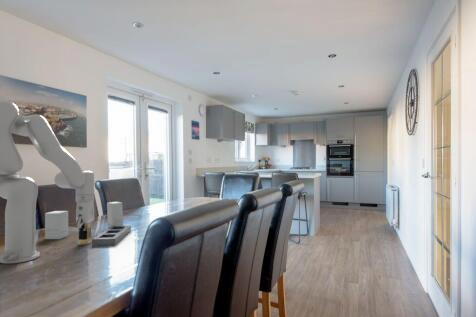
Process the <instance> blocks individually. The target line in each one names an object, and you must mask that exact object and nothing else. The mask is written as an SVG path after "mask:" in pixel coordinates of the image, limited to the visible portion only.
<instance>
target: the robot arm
mask: <svg viewBox="0 0 476 317" xmlns="http://www.w3.org/2000/svg"><path fill="white" fill-rule="evenodd" d="M12 134H15V135H18V136H22V137H28V138H29V140H31V141H30V142H31V143H32V144H33V146H34V148H35V149H36V150H37V153H38V154H39V156H40V157H42V158H43V159H45V160H46V161H48V162H50V163H51V164H54V165H55V167H57V168H58V169H59V170H60V171H59V172H57V173H56V175H54V180H53V181H54V183H55V185H56V186H57V187H59V188H61V189H73V190H75V203H76V209H75V210H76V211H75V222H76V225H77V226H76V227H77V228H79V240H86V239H87V230H86V224H89V223H91V224H92V222H94V221H95V220H96V219H95V218H96V217H95V216H96V215H95V203H94V201H95V174H94V172H93V171H91V170H83V169H82V168H81V166H80V164H79V163H78V161H77V160H76V159H75V158H74V157H73V156H72V155H71V154H70V153H69V152H68V151H67V150H66V149H65V148H64V147H63V146H62V144H61V143H60V141H59V139H58V138H57V136H56V135H55V132H54V131H53V129H52V127H51V126H50V124H49V122H48V121H47V119H46V118H45V117H44V116H43V115H40V114H28V115H24V114H22V113H20V110H19V108H18V106H17V105H16V104H15V103H14V102H13V101H9V100H0V197H1V198H2V199H5V200H6V205H5V208H4V209H5V210H4V231H5V232H4V252H3V254H2V255H0V263H1V264H6V265H7V264H18V263H26V262H29V261H33V260H35V259H38V258H40V256H41V252H40V251H37V250H36V239H37V238H36V231H37V230H36V228H37V226H36V225H37V224H36V222H37V221H36V207H37V199H38V194H39V187H38V183H37V182H36V181H35V180H34V179H33V178H32V177H29V176H24V175H19V172H20V171H22V169H23V167H24V161H23V158H22V156H21V153H20V152H19V150H18V147H17V146H16V143H15V141H14V137H13V136H12ZM82 223H85V224H82ZM82 225H84V226H82Z"/></svg>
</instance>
